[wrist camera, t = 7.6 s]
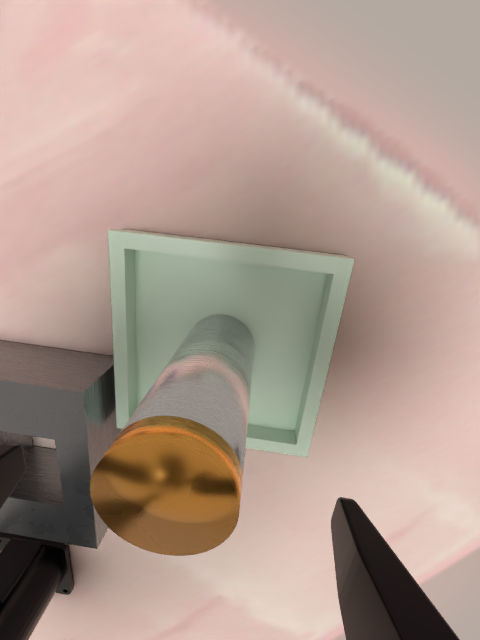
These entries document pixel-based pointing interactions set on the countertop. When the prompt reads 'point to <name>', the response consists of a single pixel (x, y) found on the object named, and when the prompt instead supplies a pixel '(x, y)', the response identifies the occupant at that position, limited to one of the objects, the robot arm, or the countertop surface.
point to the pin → (183, 447)
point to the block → (56, 438)
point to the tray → (239, 302)
